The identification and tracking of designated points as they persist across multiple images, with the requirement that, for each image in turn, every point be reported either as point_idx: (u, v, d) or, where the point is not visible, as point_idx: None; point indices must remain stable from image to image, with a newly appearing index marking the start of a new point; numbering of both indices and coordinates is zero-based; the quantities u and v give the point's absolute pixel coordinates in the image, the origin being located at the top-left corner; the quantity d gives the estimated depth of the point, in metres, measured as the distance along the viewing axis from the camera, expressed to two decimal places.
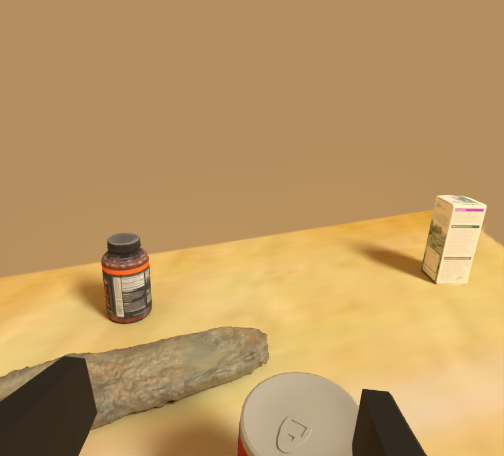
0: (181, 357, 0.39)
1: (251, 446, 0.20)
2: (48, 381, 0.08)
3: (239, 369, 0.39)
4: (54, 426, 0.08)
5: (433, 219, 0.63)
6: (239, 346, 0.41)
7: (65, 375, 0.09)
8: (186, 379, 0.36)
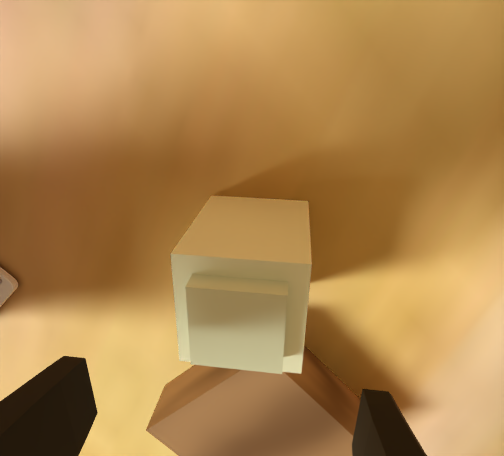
0: None
1: None
2: (48, 381, 0.08)
3: None
4: (54, 426, 0.08)
5: None
6: None
7: (65, 375, 0.09)
8: None
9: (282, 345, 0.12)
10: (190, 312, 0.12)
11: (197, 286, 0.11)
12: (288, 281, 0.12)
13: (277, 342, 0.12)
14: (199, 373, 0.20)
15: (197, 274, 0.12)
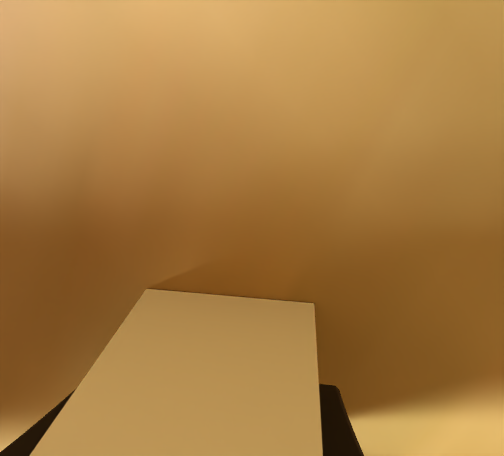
0: None
1: None
2: None
3: None
4: None
5: None
6: None
7: None
8: None
9: None
10: None
11: None
12: None
13: None
14: None
15: None
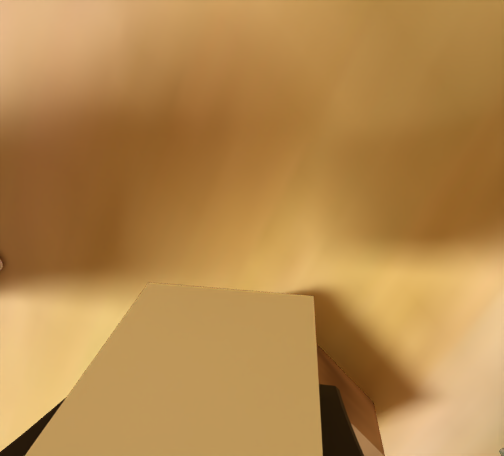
0: None
1: None
2: None
3: None
4: None
5: None
6: None
7: None
8: None
9: None
10: None
11: None
12: None
13: None
14: None
15: None
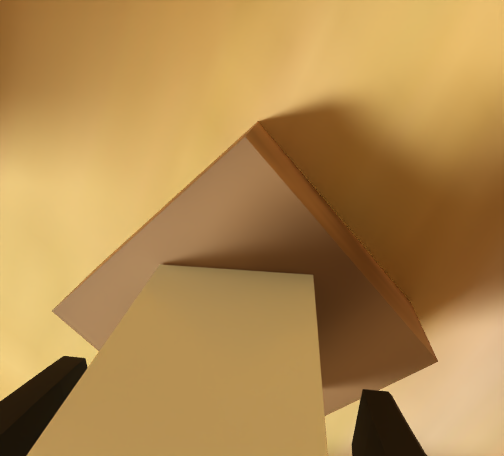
0: None
1: None
2: (48, 381, 0.08)
3: None
4: None
5: None
6: None
7: (65, 375, 0.09)
8: None
9: None
10: None
11: None
12: None
13: None
14: None
15: None
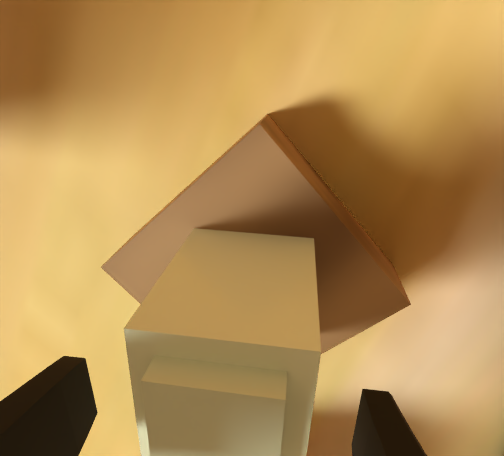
0: None
1: None
2: (48, 381, 0.08)
3: None
4: (54, 426, 0.08)
5: None
6: None
7: (65, 375, 0.09)
8: None
9: None
10: (149, 412, 0.08)
11: (158, 379, 0.08)
12: (286, 371, 0.08)
13: None
14: None
15: (162, 356, 0.09)
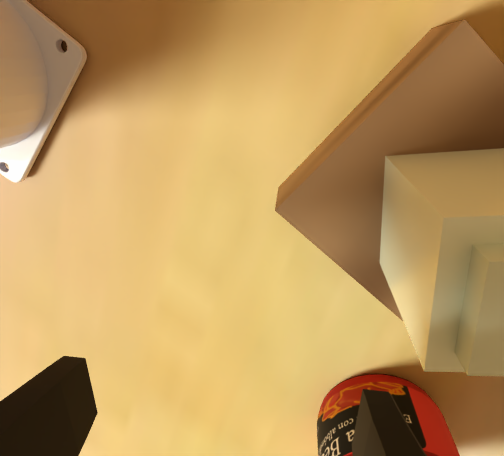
0: None
1: None
2: (48, 381, 0.08)
3: None
4: (54, 426, 0.08)
5: None
6: None
7: (65, 375, 0.09)
8: None
9: None
10: (487, 300, 0.08)
11: (503, 259, 0.08)
12: None
13: None
14: (336, 134, 0.15)
15: (481, 245, 0.08)
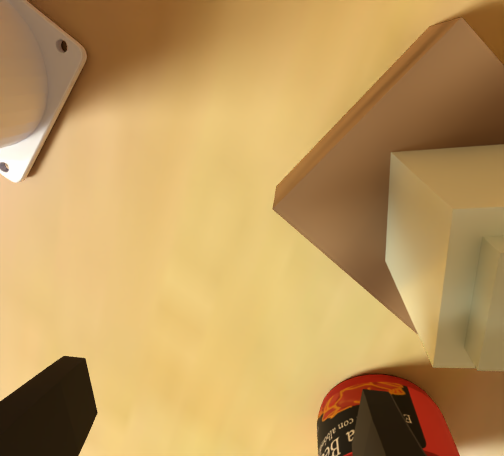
0: None
1: None
2: (48, 381, 0.08)
3: None
4: (54, 426, 0.08)
5: None
6: None
7: (65, 375, 0.09)
8: None
9: None
10: (498, 293, 0.08)
11: None
12: None
13: None
14: (334, 133, 0.15)
15: (491, 236, 0.08)
